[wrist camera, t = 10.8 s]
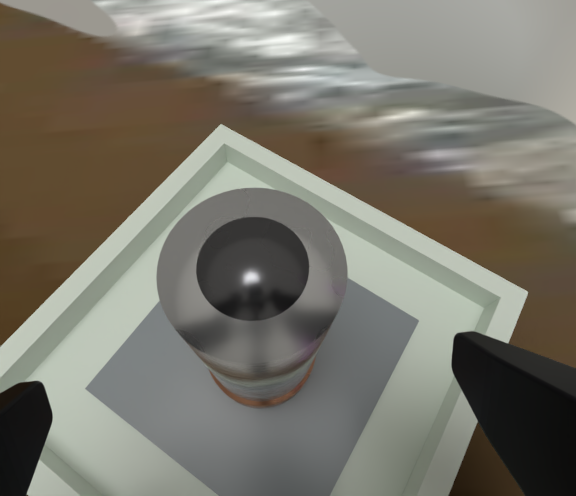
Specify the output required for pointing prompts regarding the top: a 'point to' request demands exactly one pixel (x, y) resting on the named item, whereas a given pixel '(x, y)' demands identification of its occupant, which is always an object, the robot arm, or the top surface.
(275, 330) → the metal sleeve
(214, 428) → the sage tray
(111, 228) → the top surface
